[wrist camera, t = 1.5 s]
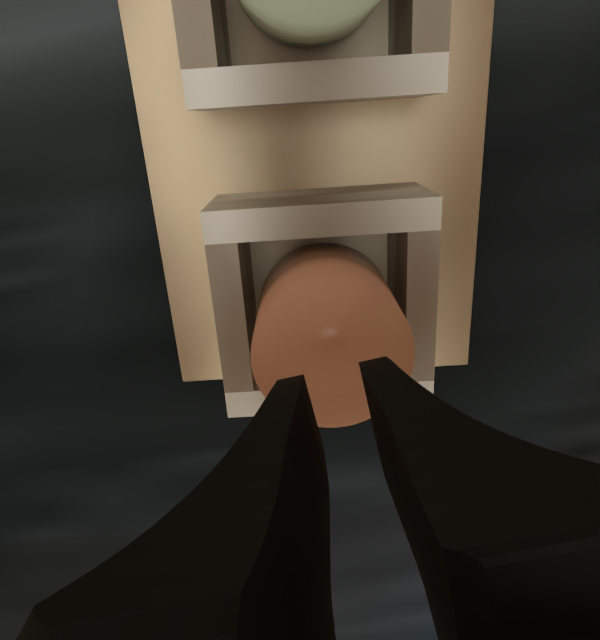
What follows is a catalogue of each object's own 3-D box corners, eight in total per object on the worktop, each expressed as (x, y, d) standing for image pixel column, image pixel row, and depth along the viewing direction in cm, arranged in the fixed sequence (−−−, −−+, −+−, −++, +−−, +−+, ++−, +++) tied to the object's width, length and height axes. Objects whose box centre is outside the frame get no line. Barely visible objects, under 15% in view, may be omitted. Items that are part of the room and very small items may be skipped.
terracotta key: (388, 238, 16) (417, 274, 12) (388, 359, 18) (413, 422, 14) (253, 247, 16) (241, 285, 13) (265, 366, 18) (258, 431, 14)
